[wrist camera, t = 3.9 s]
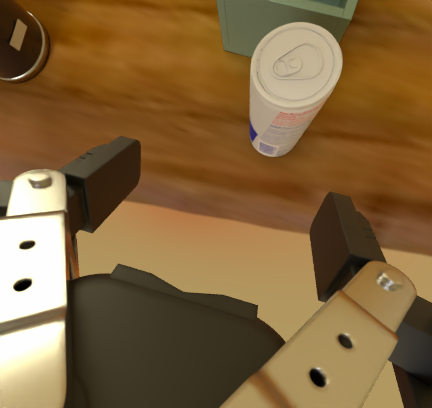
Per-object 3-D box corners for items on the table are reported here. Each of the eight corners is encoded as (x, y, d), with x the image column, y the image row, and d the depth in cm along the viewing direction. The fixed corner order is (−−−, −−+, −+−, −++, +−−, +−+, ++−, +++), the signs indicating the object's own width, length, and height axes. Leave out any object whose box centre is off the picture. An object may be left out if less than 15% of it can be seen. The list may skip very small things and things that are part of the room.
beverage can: (308, 129, 30) (365, 51, 16) (277, 167, 31) (303, 126, 16) (269, 101, 31) (289, 0, 16) (240, 138, 31) (232, 73, 16)
